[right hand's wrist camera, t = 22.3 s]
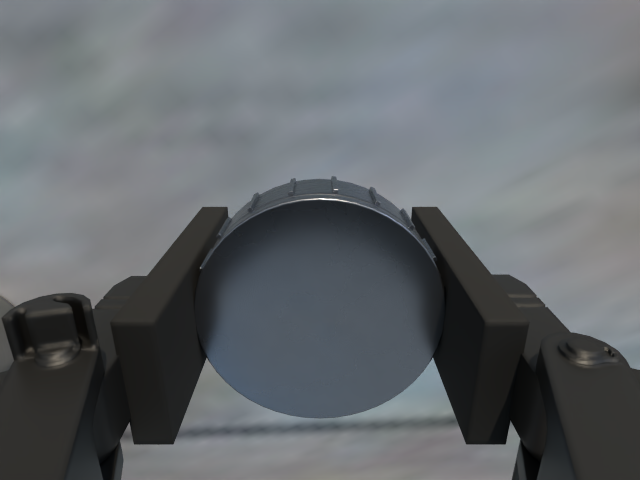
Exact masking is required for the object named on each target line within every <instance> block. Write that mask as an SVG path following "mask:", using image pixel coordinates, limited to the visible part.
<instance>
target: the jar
mask: <svg viewBox="0 0 640 480" xmlns="http://www.w3.org/2000/svg"><path fill="white" fill-rule="evenodd" d="M12 308H14V306H13V305H12V304H11V303H9V302H8V301H7V300H6V299H4V298H3V297H1V296H0V372H4V371H8V370H9V369H10V367H11V365H12V363H13V361H14V359H13V356H12V352H11V349H10V346H9V342H8V339H7V335H6V332H5V329H4V325H3V322H2V319H1V318H2V317H3V316H4V315H5V314H6V313H7V312H8V311H9V310H11V309H12Z"/></svg>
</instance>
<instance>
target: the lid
mask: <svg viewBox="0 0 640 480" xmlns="http://www.w3.org/2000/svg"><path fill="white" fill-rule="evenodd" d="M216 237H217V238H218V240H217V242H216V243H215V245H214V247H213V249H212V248H211V249H210V251H209V253H208V254H207V256H206V258H205V259H204V261H203V263H202V265H201V266H200V268H199V272H200V274H199V277H198V281H197V285H196V288H195V295H194V312H195V321H196V329H197V335H198V338H199V341H200V344H201V347H202V349H203V351H204V353H205V355H206V357H207V358H208V360H209V362H210V363H211V365H212V366H213V367H214V369H215V370H216V372H217V373H218V374H219V375H220V376H221V377H222V378H223V379H224V380H225V381H226V382H227V383H228V384H229V385H230V386H231V387H232V388H234V389H235V390H236V391H237V392H239V393H240V394H242V395H243V396H245V397H246V398H248V399H249V400H251V401H253V402H255V403H257V404H259V405H261V406H263V407H265V408H268V409H271V410H273V411H276V412H280V413H284V414H287V415H292V416H298V417H305V418H335V417H341V416H348V415H352V414H356V413H360V412H363V411H366V410H369V409H371V408H374V407H377V406H379V405H381V404H383V403H385V402H386V401H388V400H390V399H392V398H393V397H395V396H396V395H398V394H399V393H401V392H402V391H404V390H405V389H406V388H407V387H408V386H409V385H411V384H412V383H413V382H414V381H415V380H416V379H417V378H418V377H419V375H420V374H421V373H422V372H423V371H424V370H425V368H426V367H427V365H428V364H429V362H430V361H431V360H432V358H433V356H434V354H435V352H436V350H437V348H438V345H439V343H440V340H441V337H442V334H443V326H444V318H445V309H446V299H445V290H444V286H443V282H442V279H441V275H440V273H439V271H438V268H437V266H436V264H435V261H437V259H436V257H435V255H434V253H433V251H432V250H431V248H430V246H429V245H428V243H427V241H426V240H425V238H423V239H421V237H420V235H419V234H418V232H417V231H416V229H415V226H414V224H413V223H412V221H411V219H410V217H409V216H408V214H407V212H406V211H405V210H404V209H402V210H401V211H400V210H399V209H398V208H397V207H396V206H395V205H394V204H392V203H391V202H390V201H388V200H387V199H385V198H384V197H382V196H381V195H379V194H377V193H376V190H375V188H373V187H370V189H367V188H364V187H361V186H358V185H355V184H352V183H348V182H343V181H338V180H337V179H336V177H333V176H332V178H331V180H327V179H312V180H302V181H296V179H295V178H294V179H291V181H290V183H287V184H284V185H281V186H278V187H275V188H273V189H271V190H269V191H267V192H265V193H263V194H261V195H259V193H256V194H254V196H253V198H252V200H251V201H250V202H248V203H247V204H246V205H245V206H244V207H243V208H242V209H240V210H239V211H238V212H237V213H236V214H235V215H234V217H233V218H232V219H231V218H229V217H228V218H227V219H226V221H225V223H224V224H223V226H222V228H221V229H220V231H219V233H218V234H217V236H216Z"/></svg>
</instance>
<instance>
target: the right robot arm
mask: <svg viewBox="0 0 640 480" xmlns="http://www.w3.org/2000/svg"><path fill="white" fill-rule="evenodd" d="M227 218H228V208H227V207H202V208H201V210H200V211H199V212H198V213H197V215H196V216H195V217H194V218H193V220H192V221H191V222H190V223H189V225H188V226H187V227H186V228H185V230H184V231H183V232H182V233H181V235H180V236H179V237H178V238H177V239H176V241H175V242H174V243H173V244H172V246H171V247H170V248H169V249H168V251H167V252H166V253H165V254H164V256H163V257H162V258H161V259H160V261H159V262H158V263H157V264H156V266H155V267H154V268H153V269H152V271H151V272H150V273H149V274H148V275H147V276H131V277H129V278H127V279H125V280H123V281H122V282H120V283H118V284H116V285H115V286H113V287H112V288H111V290H110V291H109V292H108V293H107V294H106V295H105V296H104V299H101V300H100V302H99V303H98V304H97V305H96V306H95V309H92V307H91V302H90V299H88V298H87V297H85V296H84V295H80V294H74V293H61V294H52V295H47V296H42V297H38V298H35V299H32V300H29V301H27V302H24V303H22V304H20V305H18V306H16V307H14V308H12V309H11V310H9V311H8V312H7V313H6V314H5V315H4V316H3V317H2V318H1V319H2V322H3V325H4V329H5V332H6V335H7V339H8V342H9V346H10V349H11V352H12V356H13V359H14V361H13V363H12V365H11V367H10V369H9V370H8V371H4V372H0V480H121V475H122V467H123V454H122V448H121V444H120V439H121V437H122V435H123V433H124V431H125V429H126V427H127V426H128V424H129V422H130V426H131V431H132V436H133V442H134V444H174V441H175V439H176V436H177V434H178V431H179V428H180V426H181V423H182V420H183V418H184V415H185V413H186V410H187V407H188V405H189V402H190V400H191V397H192V394H193V392H194V389H195V386H196V384H197V381H198V379H199V376H200V373H201V371H202V368H203V366H204V363H205V360H206V358H207V357H206V355H205V353H204V351H203V349H202V347H201V344H200V341H199V338H198V335H197V329H196V321H195V312H194V295H195V288H196V285H197V281H198V277H199V274H200V272H199V268H200V266H201V265H202V263H203V261H204V259H205V258H206V256H207V254H208V253H209V251H210V249H211V248H212V249H213V247H214V245H215V243H216V242H217V240H218V238H217V237H216V236H217V234H218V233H219V231H220V229H221V228H222V226H223V224H224V223H225V221H226V219H227ZM411 221H412V223H413V224H414V226H415V229H416V231H417V232H418V234H419V235H420V237H421V239H423V238H425V240H426V241H427V243H428V245H429V246H430V248H431V250H432V251H433V253H434V255H435V257H436V259H437V261H435V264H436V266H437V268H438V271H439V273H440V275H441V279H442V282H443V286H444V290H445V299H446V309H445V318H444V326H443V334H442V337H441V340H440V343H439V345H438V348H437V350H436V352H435V354H434V356H433V358H434V361H435V364H436V366H437V369H438V372H439V374H440V377H441V379H442V382H443V385H444V387H445V390H446V392H447V395H448V398H449V400H450V403H451V406H452V408H453V411H454V413H455V416H456V419H457V421H458V424H459V426H460V429H461V432H462V434H463V437H464V440H465V442H466V444H506V440H507V435H508V430H509V425H510V420H511V422H512V424H513V426H514V427H515V429H516V431H517V433H518V435H519V437H520V444H519V448H518V453H517V458H516V463H515V467H514V472H513V477H512V480H640V370H636V369H632V368H630V366H629V364H628V362H627V361H626V359H625V358H624V357H623V356H622V355H621V354H620V352H619V351H618V350H616V349H614V348H613V347H611V346H610V345H608V344H607V343H605V342H603V341H600V340H598V339H595V338H593V337H590V336H586V335H582V334H577V333H571V332H570V331H569V330H568V329H567V328H566V327H565V326H564V325H563V324H562V323H561V321H560V320H559V319H558V318H557V317H556V316H555V315H554V314H553V313H552V312H551V311H550V310H549V308H548V307H545V304H544V303H543V302H542V301H541V300H540V299H539V298H537V297H536V294H535V293H534V292H533V291H532V290H531V289H530V288H529V287H528V286H527V285H526V284H525V283H523V282H521V281H519V280H517V279H516V278H514V277H512V276H510V275H491V273H490V272H489V271H488V270H487V268H486V267H485V266H484V265H483V263H482V262H481V261H480V260H479V258H478V257H477V256H476V255H475V254H474V252H473V251H472V250H471V249H470V247H469V246H468V245H467V244H466V242H465V241H464V240H463V239H462V237H461V236H460V235H459V234H458V232H457V231H456V230H455V229H454V227H453V226H452V225H451V224H450V222H449V221H448V220H447V219H446V218H445V216H444V215H443V214H442V213H441V211H440V210H439V209H438V208H437V207H412V217H411Z"/></svg>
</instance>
